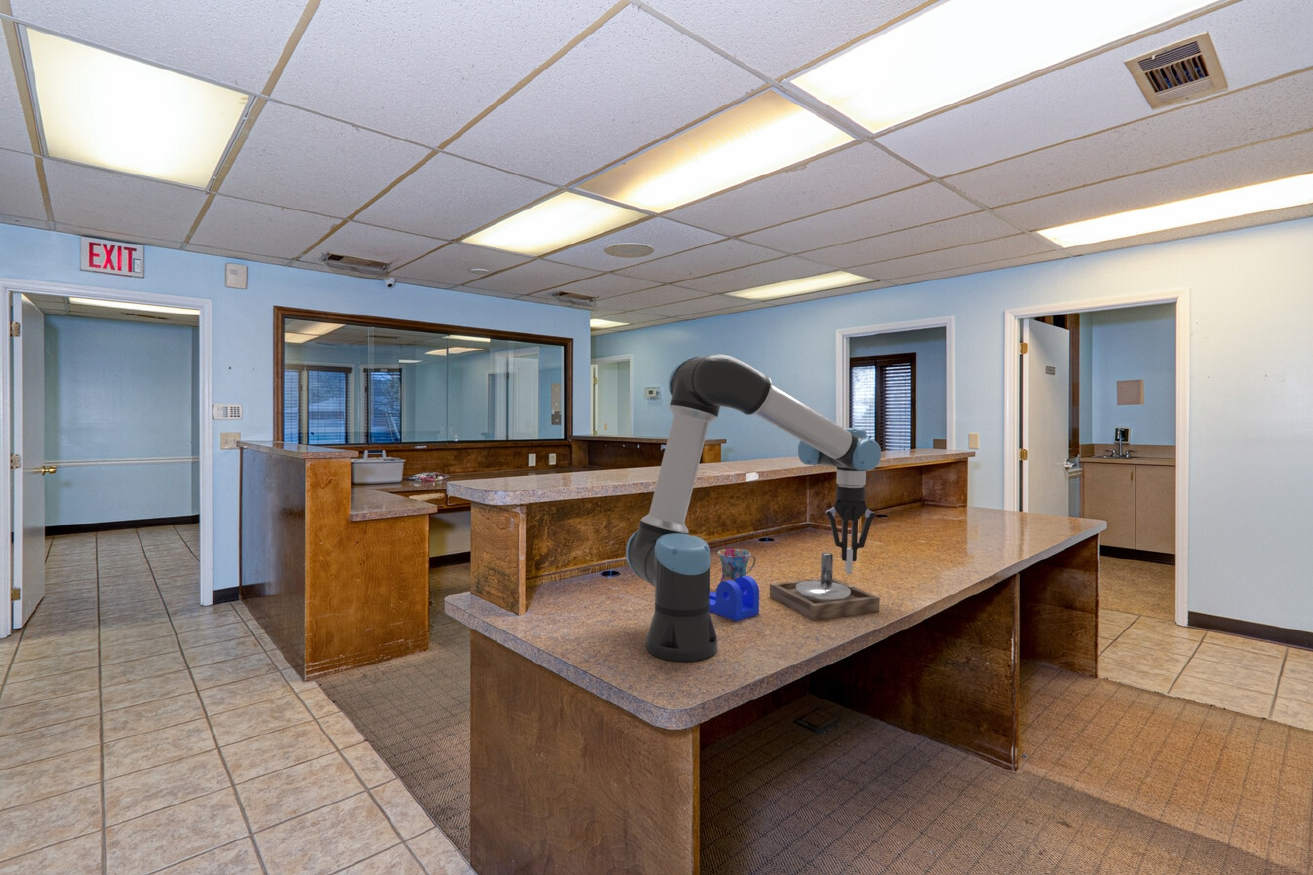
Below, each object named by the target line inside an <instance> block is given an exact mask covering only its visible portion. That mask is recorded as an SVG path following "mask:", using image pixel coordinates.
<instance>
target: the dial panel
mask: <svg viewBox="0 0 1313 875" xmlns="http://www.w3.org/2000/svg"><path fill="white" fill-rule="evenodd" d="M805 581H821V577H820V578H806V579H802V580H795V581H794V580H793V581H782V582H773V583H769V598H772V599H773V600H775V601H777V602H779V603H781V604H783V605H785V606H786V607H788V608H790V609H792V610H794V611H796V612H797V613H799V614H801V615H803V616H805V617H806V618H808V619H810V620H812V621H819V620H825V619H832V618H841V617H847V616H855V615H861V614H869V613H874V612H875V613H876V612H880V603H881V602H880V601H881V600H880V599H881V598H880V597H879V596H876V595H875V594H872V593H870V592H867V591H865V590H862V589H860V588H858V587H856V586H854V585H852V584H851V585H850V584H847V583H845V582H843V581H840V580H838V579H836V578H834V577H832V582H833V583H838V584H841V585H844V586H846V587H848V588H849V589H850V590H851V599H848V600H840V601H832V602H824V603H813V602H811V601H809V600H807V599H805V598H803V597H801V596H799V595H797V594H796V585H797V584H798V583H800V582H805Z"/></svg>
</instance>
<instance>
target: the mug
mask: <svg viewBox="0 0 1313 875" xmlns="http://www.w3.org/2000/svg"><path fill="white" fill-rule="evenodd" d="M717 555H718V557H719V560H720V564H721V578H720V582H719V583H721V582H723V581H727V580H732V581H734V582H735V580H736V579H737V578H739V577H743V576H747V575H748V574H749V573H750V572H751V571H752V569H753V568H754V567H755V564H756V560H757V559H756V556H755V555H752V554H751V552H750V551H748V550H745V549H737V548H726V549H720V550H718V551H717ZM750 557H752V558H753V560H752V561H753V562H752V564H751V566H750V568H749V569H747V566H748V563H749V559H750Z"/></svg>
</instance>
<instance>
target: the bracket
mask: <svg viewBox="0 0 1313 875" xmlns="http://www.w3.org/2000/svg"><path fill="white" fill-rule="evenodd" d="M709 612H710V613H712V614H716V615H718V616H720V617H721V616H722V617H723V618H727V619H729V620H732V621H734V622H739V621H741V620H742V621H743V620H744V619H748V618H751V617H754V616H757V615H759V614H760V587H759V585H758V583H757V581H756V580H755V579H754V578H753V577H752V576H749V575H746V576H743V577H739V578H737V579H736V580H735V582H734V581H732V580H727V581H723V582H721V583H720V582H719V583H718V585H716V589H715V592H714V591H710V605H709Z"/></svg>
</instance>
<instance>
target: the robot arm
mask: <svg viewBox="0 0 1313 875" xmlns="http://www.w3.org/2000/svg"><path fill="white" fill-rule="evenodd" d="M668 379H669V380H668V390H669V393H670V396H671V399H670V405H669V409H670V410H671V412H672V414H673V418H672V422H671V426H670V430H669V434H668V438H667V442H666V446H665V449H664V452H663V453H664V454H663V458H662V461H661V465H660V469H659V472H658V477H657V481H656V485H655V488H654V491H653V492H654V493H653V496H652V501H651V504H650V509H649V512H648V514H647V515H645V516H643V517H642V518H640V520H639V524H638V528H637V531H635V532H633V533H632V535H631V536H629V539H628V541H627V543H626V546H625V547H626V548H625V557H626V561H627V564H628V566H629V568H630V569H631V570H632V571H633V572H634V574H635V575H636V576H638V578H640V579H641V580H643V581H645V582H647V583H648V584H650V585H651V586H654V614H653V617H652V619H651V622H650V625H649V628H648V632H647V634H646V639H645V641H646V644H645V645H646V646H645V647H646V650H647V651H648V653H649V654H650V655H653V656H654V657H656V658H658V659H662V660H665V661H671V662H678V663H679V662H683V663H685V662H687V663H688V662H697V661H703V660H706V659H708V658H711V657H713V656H714V655H715V654H716V653H717V651H718V637H717V633H716V630H715V627H714V624H713V621H712V617H711V612H709V605H710V592H711V565H712V557H711V549H710V546H709V544H708V543H707V541H706V540H704V539H703V538H701V537H699V536H696V535H689V532H690V531H689V529H688V528H687V527H688V526H686V524H685V521H686V517H687V515H688V509H689V505H690V502H691V498H692V494H693V490H694V485H695V481H696V477H697V474H698V470H699V465H700V462H701V458H702V454H703V449H704V447H705V446H704V445H705V443H706V439H707V438H706V437H707V435H708V431H709V426H710V424H711V423H713V422H715V421H717V419H718V416H719V413H720V409H721V407H725V408H730V409H734V410H737V411H739V412H741V413H743V414H745V415H746V416H752V415H754V416H757V417H759V418H761V419H762V420H764V421H766V422H768V423H769V424H771V425H773V426H775V427H776V428H778V429H780V430H782V431H784V432H785V433H788V434H789V435H791V436H792V437H795V438H796V439H797V440H799V442H798V446H797V455H798V456H797V457H798V458H799V460H800V461H801V463H802V464H803V465H806V466H807V465H808V466H818V465H819V466H827V467H835V468H836V479H835V480H836V484H837V486H836V488H835V502H834V504H833V507H832V508H830V509H827V510H825V514H826V516H827V517H828V518H829V519H828V520H829V525H830V528H831V533H832V536H833V537H832V538H833V542H834V544H835V546H836V547H837V548H840V549H841V553H840V554H841V556H840V557H841V560H842V561H845V562H844V567H845V568H844V572H845V574H846V575H853V564H854V562H856V561H857V558H858V549H861V548H864V547H865V544H866V542H867V537H868V534H869V530H870V528H871V524H872V521H873V520H874V519H875V517H876V513H875V512H873V511H871V510H870V509H868V506H867V503H866V490H867V489H866V488H865V486H866V483H867V482H866V481H867V479H866V478H867V471H872V470H874V469H875V468H877V467H878V465H879V464H880V462H881V459H882V449H881V446H880V444H878V443H879V442H877V441H876V440H874V439H870V438H867V437H868V436H867V431H866V429H864V428H857V427H855V428H854V427H853V428H852V427H849V428H848V427H847V428H846V427H842V426H840V425H839V424H837V423H836V422H834V421H832V420H830V419H829V418H827V417H825V416H824V415H822V414H821V413H819V412H818V411H816V410H814V409H812V408H811V407H809V406H808V405H806V404H804V403H802V401H799V400H798V399H796V398H795V397H793V396H791V395H789V394H787V393H786V392H785V391H783V390H781V389H779V388H778V387H776V386H774V385H773V384H772V383H773V382H772V380H771V378H770V377H769V376H767V375H765V374H764V373H762V371H760V370H757V369H755V367H752V366H750V365H749V364H748V363H745V362H743V361H742V360H739V359H738V358H736V357H733V356H731V355H728V354H722V353H719V354H718V353H716V354H710V355H706V356H694V357H690V358H687V359H686V360H684V361H681V362H680V363H678V364H677V365H676V366H675V367H674V368H673V370H672V372H671V373H670V376H669V378H668ZM836 513H837V514H838V516H839V517H840V519H841V539H840V536H839V532H838V527H837V523H836V519H835V517H836ZM863 516H864V517H865V519H864V521H863V525H862V528H861V532H860V535H859V534H858V533H859V520H860V519H861V518H862V517H863ZM849 521H851V542H850V544H851V545H850V546H851V547H848V534H849V532H848V531H849ZM858 535H859V536H858ZM858 537H859V538H858ZM840 540H841V541H840Z"/></svg>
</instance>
